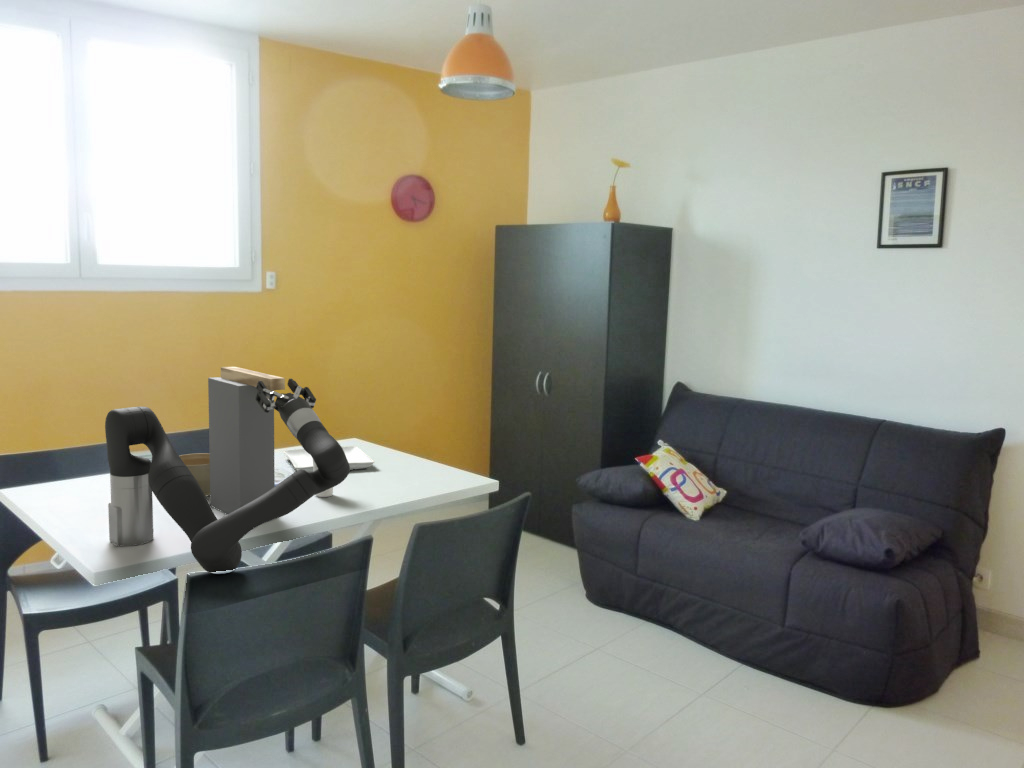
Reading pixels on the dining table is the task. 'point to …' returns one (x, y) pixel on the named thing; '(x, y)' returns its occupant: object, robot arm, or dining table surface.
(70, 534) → the dining table surface
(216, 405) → the stand
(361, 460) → the square plate
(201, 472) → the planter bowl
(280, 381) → the block
